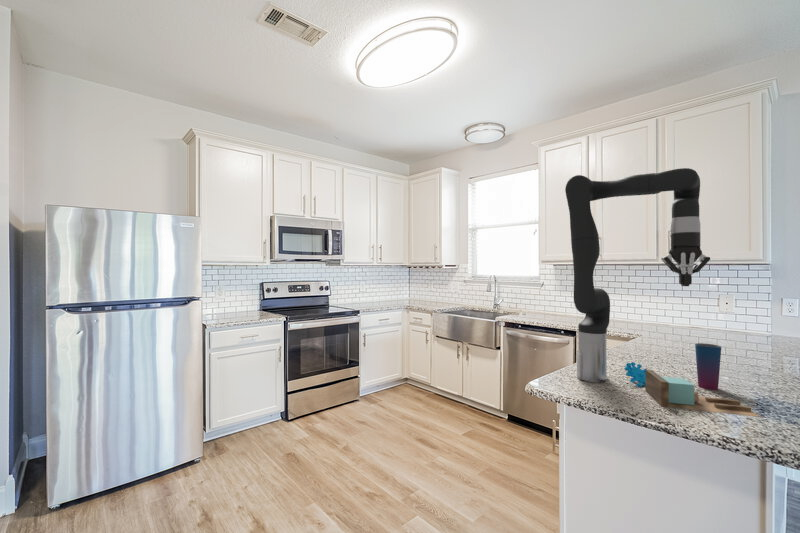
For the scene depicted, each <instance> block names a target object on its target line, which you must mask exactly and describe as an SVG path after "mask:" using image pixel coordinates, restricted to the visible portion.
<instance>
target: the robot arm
mask: <svg viewBox="0 0 800 533" xmlns="http://www.w3.org/2000/svg"><path fill="white" fill-rule="evenodd" d="M564 190H565V196H566V197H565V198H566V201H567V205H568V211H569V223H570V226H569V227H570V241H571V242H570V243H571V253H572V265H573V304H574V307H575V308H576V310H577V311H578V312H579V313H581V314H585V317H584V319H582V321H580V322H579V323H578V328H577V331H578V334H577V337H578V339H577V341H578V342H577V347H578V348H577V351H576V352H577V354H576V356H577V357H576V369H577V370H576V376H577V377H578V380H580V381H585V382H590V383H605V382H606V381H607V376H608V374H607V360H608V359H607V357H608V356H607V351H608V350H607V332H608V327H609V325H610V314H611V300H610V299H611V298H610V296H609V294H608V292H607V291H606V290H604V289H603V288H599V287H596V288H595V285H594V270H595V268H596V265H597V262H598V260H599V256H600V251H601V248H600V238H599V237H600V236H599V231H598V228H597V225H596V223H595V220H594V216H593V214H592V209H591V202H593V201H599V200H602V199H609V198H617V197H632V196H633V197H634V196H646V195H647V196H649V195H657V194H660V193H662V192H673V202H672V205H671V223H670V229H669V230H670V250H669V252H668V254H667V255H665V256H662V257H661V258H660V259H661V262H663V263H664V264H665V265H666V266H667V268H668V269H669V270H670V271H672V273H676V274H678V283H679V285H680V286H681V287H690V285H691V284H692V275H693V274H695V273H699V272H700V271H701V270H702V269H703V268H704V267H705V266H706V265H707V263H709V261H710V260H711V257H710V256H707V255H705V254H703V251H702V249H701V220H700V203H699V202H700V200H699V199H700V193H701V179H700V176H699V174H698V172H697V171H696V170H695V169H693V168H688V167H685V168H683V167H682V168H675V169H669V170H665V171H662V172H661V171H660V172H654V173H653V172H651V173H650V172H649V173H642V174H634V175H633V174H632V175H629V176H624V177H622V178H617V179H614V180H613V179H612V180H607V181H606V180H604V181H603V180H602V181H601V180H598V181H597V180H591V179H590V178H589V177H587V176H584V175H582V174H578V175H577V174H576V175H573V176H572V177H570V178H569V179H568V180H567V183H566V184H565V189H564ZM697 260H698V262H697V263H696V264H695V262H696V261H697ZM673 261H674V262H676V264H675V263H674V262H673Z"/></svg>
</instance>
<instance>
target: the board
mask: <svg viewBox="0 0 800 533" xmlns="http://www.w3.org/2000/svg"><path fill="white" fill-rule="evenodd" d="M662 377H663V376H661V375H659V374H658V373H657V372H655V371H654V370H653V369H647V370H645V387H644V389H645V390H644V391H645V393H646V394H648V396H650V398H651V399H653V400H654V401H655V402H656V403H657V404H658V405H659V407H663V408H674V409H682V410H691V411H699V412H700V411H701V412H708V413H709V412H711V413H719V414H730V415H736V416H737V415H738V416H747V417H748V416H750V417H759V418H762V415H760V414H757V412H754V411H752V407H750V406H746V405H745V406H744V405H742V404H741V401H740V400H738V399H730V398H728V399H727V398H717V397H710V396H699V395H698V396H699V401H698V402H694V405H686V404H677V403H669V382H667V381H666V380H665V379H663V378H662Z"/></svg>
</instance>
